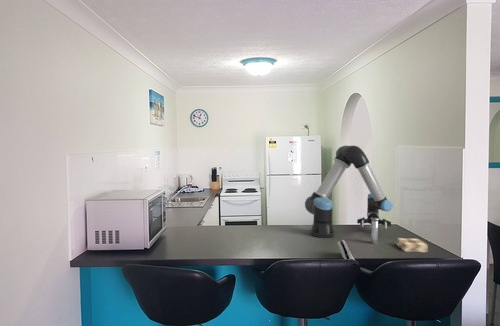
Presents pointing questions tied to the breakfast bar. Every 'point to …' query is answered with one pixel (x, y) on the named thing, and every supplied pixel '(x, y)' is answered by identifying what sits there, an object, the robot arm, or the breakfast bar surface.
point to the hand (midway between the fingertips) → (374, 225)
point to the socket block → (412, 245)
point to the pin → (374, 230)
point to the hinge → (344, 250)
